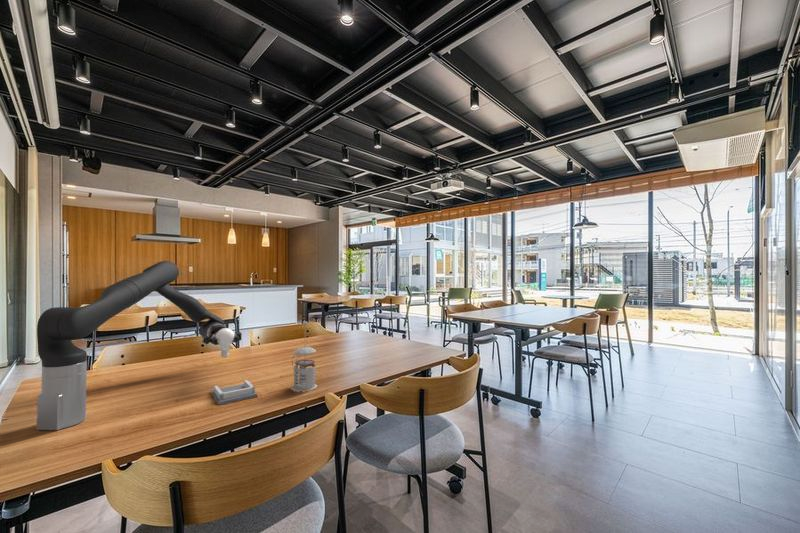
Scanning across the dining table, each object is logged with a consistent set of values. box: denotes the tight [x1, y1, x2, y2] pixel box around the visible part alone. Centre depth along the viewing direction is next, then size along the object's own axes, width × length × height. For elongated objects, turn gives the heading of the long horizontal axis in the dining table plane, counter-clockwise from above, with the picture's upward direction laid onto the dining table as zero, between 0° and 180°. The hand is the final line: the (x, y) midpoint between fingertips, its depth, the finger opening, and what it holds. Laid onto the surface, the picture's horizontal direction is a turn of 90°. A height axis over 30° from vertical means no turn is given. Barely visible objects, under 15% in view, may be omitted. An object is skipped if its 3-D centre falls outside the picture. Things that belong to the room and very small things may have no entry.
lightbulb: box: [216, 327, 235, 358], centre depth 129 cm, size 6×6×11 cm
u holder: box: [210, 379, 258, 406], centre depth 121 cm, size 14×12×3 cm
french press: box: [290, 320, 318, 393], centre depth 129 cm, size 10×12×25 cm
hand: (226, 341), depth 127 cm, fingers closed on lightbulb, 6 cm apart
